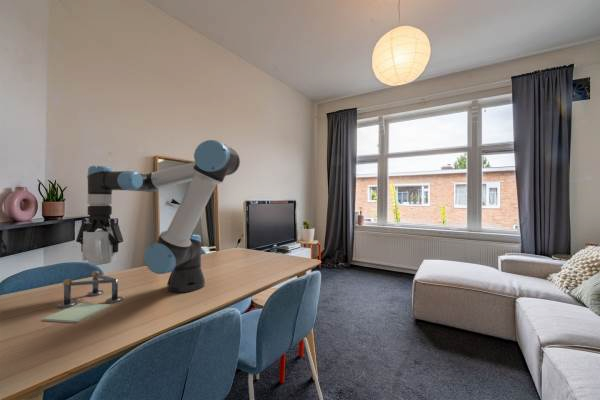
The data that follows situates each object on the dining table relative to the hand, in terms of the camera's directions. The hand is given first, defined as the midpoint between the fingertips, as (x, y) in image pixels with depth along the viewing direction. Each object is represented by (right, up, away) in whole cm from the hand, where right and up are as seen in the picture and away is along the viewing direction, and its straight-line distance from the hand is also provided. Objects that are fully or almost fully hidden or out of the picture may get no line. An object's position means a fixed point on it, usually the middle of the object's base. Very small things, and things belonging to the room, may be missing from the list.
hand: (99, 260), depth 99 cm
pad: (+6, -14, -16) cm, 22 cm away
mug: (0, -2, 0) cm, 2 cm away
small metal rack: (+3, -14, -5) cm, 15 cm away
